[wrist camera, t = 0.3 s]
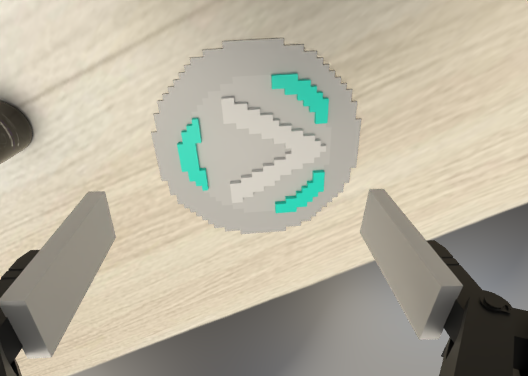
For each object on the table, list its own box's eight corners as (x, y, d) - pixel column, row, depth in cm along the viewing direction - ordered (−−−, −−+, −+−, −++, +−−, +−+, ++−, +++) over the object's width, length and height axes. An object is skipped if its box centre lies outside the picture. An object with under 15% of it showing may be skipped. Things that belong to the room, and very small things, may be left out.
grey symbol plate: (348, 222, 52) (351, 228, 51) (175, 236, 51) (174, 242, 50) (368, 33, 39) (373, 34, 37) (133, 45, 37) (129, 46, 36)
